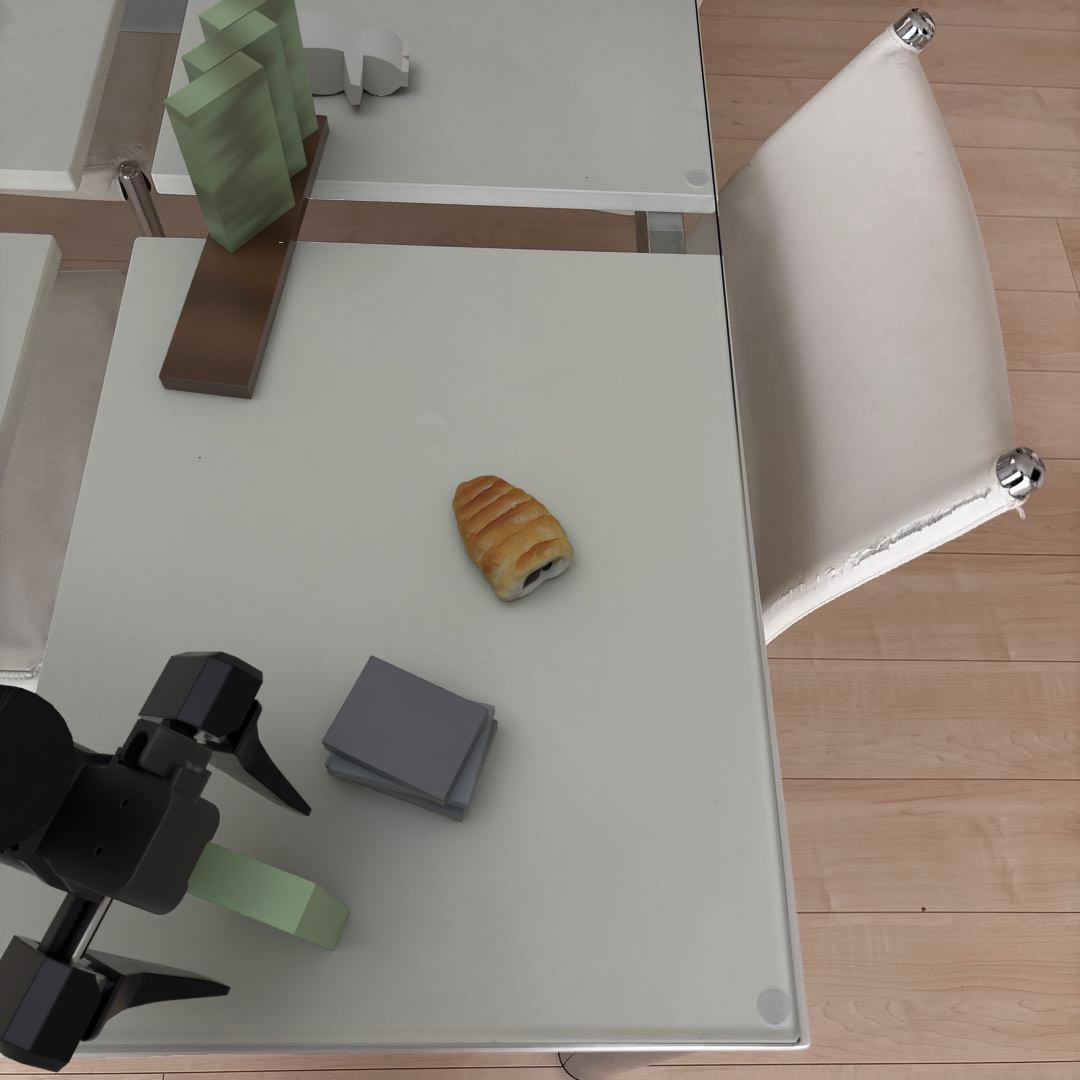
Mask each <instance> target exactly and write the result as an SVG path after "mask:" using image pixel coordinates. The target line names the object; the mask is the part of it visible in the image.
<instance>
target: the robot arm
mask: <svg viewBox="0 0 1080 1080" xmlns="http://www.w3.org/2000/svg"><path fill="white" fill-rule="evenodd" d="M263 674H264V673H263V671H262V670H260V669H259V668H257V667H255V666H253V665H251V664H250V663H248V662H247V661H245V660H243V659H242V658H240V657H238V656H237V655H236V656H235V655H233V654H230V653H227V652H224V651H222V650H221V651H219V650H218V651H216V650H215V651H213V650H212V651H185V652H181V653H176V654H174V655H171V656H170V658H169V659H168V661H167V662H166V663H165V666H164V667H163V670H162V671H161V673H160V675H159V676H158V679H157V680H156V682H155V684H154V685H153V687H152V689H151V691H150V692H149V694H148V696H147V698H146V699H145V702H144V703H143V705H142V707H141V709H140V711H139V712H138V714H137V716H138V717H139V719H137V720H136V722H135V723H134V725H133V727H132V729H131V730H130V732H129V734H128V736H127V738H126V739H125V741H124V743H123V744H122V746H118V747H117V748H116V750H115V752H114V753H104V752H98V751H95V750H93V749H91V748H89V747H87V746H85V745H83V744H80V743H79V742H76V741H74V738H73V734H72V732H71V730H70V728H69V725H68V723H67V721H66V719H65V718H64V717H63V715H62V714H61V713H60V712H59V711H58V710H57V708H56V707H55V706H54V704H52V703H51V702H50V701H48V700H46V699H45V698H44V697H42V696H40V695H39V693H36V692H34V691H31V690H29V689H26V688H24V687H20V686H17V685H10V684H9V685H8V684H3V683H0V864H1V865H4V866H7V867H10V868H12V869H15V870H17V871H20V872H23V873H25V874H28V875H31V876H33V877H36V878H37V879H38V880H39V881H40V882H42V883H43V884H45V885H47V886H49V887H51V888H54V889H56V890H59V891H62V892H65V893H66V895H65V897H64V898H63V900H62V902H61V904H60V905H59V908H58V910H57V911H56V913H55V915H54V917H53V919H52V921H51V922H50V924H49V926H48V927H47V929H46V931H45V933H44V935H43V936H42V939H41V941H40V940H37V939H34V938H30V937H27V936H23V935H17V934H14V935H13V936H12V938H11V940H10V941H9V943H8V945H7V947H6V948H5V950H4V951H3V954H2V955H1V957H0V1054H1V1055H2V1056H3V1057H5V1058H7V1059H10V1060H12V1061H14V1062H17V1063H18V1064H22V1065H25V1066H28V1067H33V1068H37V1069H40V1070H44V1071H49V1072H53V1073H59V1072H60V1071H61V1070H62V1069H64V1068H65V1067H66V1066H67V1065H68V1064H69V1063H70V1062H71V1060H72V1059H73V1056H74V1054H75V1052H76V1050H77V1048H78V1046H79V1044H80V1042H83V1043H87V1042H92V1041H94V1040H96V1039H97V1038H98V1037H99V1036H100V1034H101V1033H102V1031H103V1029H104V1027H105V1026H106V1024H107V1022H109V1020H111V1019H113V1018H114V1017H115V1016H117V1015H118V1014H120V1013H122V1012H124V1011H126V1010H129V1009H132V1008H133V1009H134V1008H138V1007H141V1006H145V1005H150V1004H156V1003H162V1002H171V1001H173V1002H174V1001H181V1000H193V999H194V1000H195V999H206V998H216V997H226V996H229V994H230V991H231V988H232V987H231V986H230V985H228V984H226V983H224V982H223V981H220V980H217V979H214V978H211V977H209V976H206V975H203V974H200V973H199V972H195V971H191V970H186V969H182V968H179V967H178V968H177V967H173V966H169V965H165V964H159V963H154V962H151V961H146V960H142V959H137V958H132V957H129V956H123V955H119V954H115V953H109V952H105V951H100V950H96V949H91V948H89V947H90V945H91V943H92V941H93V939H94V937H95V935H96V933H97V931H98V930H99V928H100V926H101V924H102V923H103V921H104V918H105V916H106V915H107V913H108V910H109V909H110V907H111V905H112V903H113V901H118V902H120V903H123V904H126V905H129V906H132V907H135V908H136V909H139V910H142V911H145V912H148V913H151V914H153V915H157V916H164V915H168V914H169V913H171V912H173V911H174V910H175V909H176V908H177V907H178V906H179V905H180V903H181V902H182V901H183V899H184V897H185V895H186V894H187V892H186V891H187V889H188V880H189V878H190V876H191V874H192V872H193V870H194V868H195V866H196V864H197V862H198V860H199V858H200V856H201V854H202V852H203V850H204V848H205V846H206V844H207V843H208V842H212V840H213V839H214V837H215V835H216V833H217V831H218V828H219V826H220V821H221V814H220V813H221V812H220V810H219V808H218V807H217V805H216V804H215V803H214V802H212V801H209V800H207V799H205V797H204V798H203V797H202V794H203V792H204V790H205V788H206V786H207V784H208V782H209V780H210V778H211V776H212V774H213V772H212V771H210V770H209V769H207V767H208V765H211V766H212V767H214V768H216V769H217V770H219V771H221V772H222V773H224V774H225V775H228V776H229V777H231V778H232V779H234V780H235V781H237V782H239V783H240V784H242V785H244V786H245V787H247V788H248V789H249V790H252V791H253V792H255V793H256V794H258V795H259V796H261V797H263V798H265V799H266V800H268V801H269V802H271V803H273V804H275V805H276V806H279V807H281V808H282V809H286V810H288V811H291V812H293V813H295V814H297V815H300V816H304V817H310V815H311V814H312V811H313V809H312V807H311V806H310V805H309V804H308V802H307V801H306V800H305V799H304V797H303V796H302V795H301V794H300V793H299V791H298V790H297V789H296V788H295V787H294V785H293V784H292V783H291V782H290V781H289V779H288V778H286V777H287V776H285V774H283V772H282V771H281V770H280V769H279V768H278V766H277V765H276V763H275V762H274V761H273V760H272V758H271V757H270V755H269V753H268V751H267V750H266V748H265V747H264V745H263V743H262V742H261V740H260V735H259V727H258V722H259V719H260V717H261V715H262V712H263V705H262V703H261V701H260V700H258V699H257V698H256V697H257V694H258V693H259V691H260V689H261V687H262V686H263V683H264V675H263Z"/></svg>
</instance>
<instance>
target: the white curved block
mask: <svg viewBox="0 0 1080 1080" xmlns="http://www.w3.org/2000/svg"><path fill="white" fill-rule="evenodd" d="M297 17H298V22H299V27H300V33H301V38H302V43H303V49H304V54H305V59H306V65H307V70H308V76H309V81H310V86H311V92H312V95H321V96H324V95H335V94H337V93H339V92H342V91H343V92H344V93H345V95H346V97H347V100H348V102H349V105H350V106H357V105H359V106H360V105H361V101H362V97H363V93H364V91H366V92H367V93H369V94H370V93H371V95H372V94H375V95H374V96H376V95H381V96H382V97H386V96H389V95H391V94H393V93H394V92H395V91H397V90H398V89H399V88H401V87H404V88H409V87H408V86H409V74H410V73H409V71H410V70H409V69H410V67H409V66H410V42H404V41H402V40H401V38H399V36H398V35H396V33H395V32H393V31H392V30H390V29H389V28H387V27H385V26H381V25H372V26H370V27H368V28H366V19H365V15H364V14H361V13H358V12H355V13H353V15H352V16H351V17H350V18H349V19H348V20H347V21H346V22H345V21H342V19H340V18H338V17H336V16H335V15H331V14H328V13H325V12H319V11H312V10H311V11H309V10H308V11H300V12H298V13H297Z"/></svg>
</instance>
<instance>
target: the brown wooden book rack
mask: <svg viewBox="0 0 1080 1080" xmlns="http://www.w3.org/2000/svg"><path fill="white" fill-rule="evenodd" d="M297 15H298V12H297V5H296V1H295V0H220V1H219V2H217V3H215V4H213V5H212V6H211V7H209V8H207V9H206V10H204V11H203V12H201V13H198V15H197V17H198V20H199V23H200V26H201V30H202V33H203V37H204V41H203V42H202V43H200V44H199V45H197V46H196V47H194V48H192V49H191V50H189V51H188V52H186V53H185V54H183V55H181V60H182V63H183V67H184V69H185V73H186V76H187V79H188V82H189V83H188V84H186V85H185V86H183V87H182V88H181V89H179V90H177V91H176V92H174V93H172V94H171V95H170V96H167V98H165V99H164V100H163V105H164V106H165V110H166V112H167V113H166V114H167V115H168V116H167V117H168V119H169V121H170V123H171V127H172V130H173V133H174V135H175V138H176V141H177V144H178V147H179V150H180V153H181V155H182V159H183V161H184V164H185V166H186V167H185V168H186V170H187V174H188V175H189V178H190V181H191V184H192V187H193V188H194V189H193V190H194V192H195V196H196V198H197V201H198V204H199V207H200V209H201V212H202V215H203V218H204V222H205V224H206V227H207V230H208V233H207V236H206V239H205V242H204V245H203V247H202V250H201V253H200V256H199V259H198V262H197V265H196V267H195V269H194V270H195V271H194V274H193V277H192V279H191V282H190V285H189V288H188V291H187V293H186V297H185V300H184V301H183V302H184V303H183V305H182V308H181V310H180V314H179V317H178V319H177V322H176V325H175V328H174V331H173V334H172V337H171V340H170V343H169V345H168V348H167V351H166V353H165V357H164V360H163V362H162V366H161V367H160V371H159V374H158V379H159V381H160V382H161V385H162V387H163V388H164V389H165V390H166V389H167V390H173V391H182V392H192V393H200V394H207V395H215V396H223V397H233V398H239V399H241V398H242V399H249V400H251V399H252V397H253V393H254V390H255V386H256V382H257V380H258V376H259V373H260V369H261V366H262V362H263V358H264V355H265V353H266V349H267V345H268V342H269V339H270V335H271V331H272V328H273V325H274V321H275V318H276V314H277V311H278V307H279V303H280V300H281V297H282V293H283V289H284V286H285V283H286V280H287V276H288V273H289V269H290V266H291V262H292V259H293V256H294V253H295V250H296V249H295V248H296V246H297V242H298V240H299V239H298V238H299V235H300V231H301V228H302V225H303V222H304V219H305V218H304V217H305V214H306V211H307V208H308V204H309V201H310V198H311V194H312V190H313V187H314V185H315V180H316V177H315V176H317V174H316V172H317V173H318V170H317V168H318V169H319V167H320V163H321V160H320V159H322V156H323V153H324V150H323V149H325V146H324V145H326V143H327V138H328V136H329V132H330V126H329V120H328V116H327V115H325V114H316V109H315V103H314V98H313V94H312V92H311V86H310V81H309V76H308V70H307V65H306V59H305V54H304V49H303V43H302V38H301V33H300V27H299V22H298V17H297ZM328 131H329V132H328ZM327 135H328V136H327ZM325 142H326V143H325ZM322 152H323V153H322ZM321 155H322V156H321ZM318 166H319V167H318ZM314 179H315V180H314ZM307 197H310V198H307ZM279 242H283V243H279ZM295 243H296V244H295Z"/></svg>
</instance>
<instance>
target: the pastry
mask: <svg viewBox="0 0 1080 1080" xmlns="http://www.w3.org/2000/svg"><path fill="white" fill-rule="evenodd" d="M451 506H452V511H453V513H454V516H455V520H456V525H457V531H458V534H459V536H460V539H462V542H463V545H464V548H465V554H466V556H467V558H468V560H470V561H471V562H473V563H474V564H475V565H476V566H477V568H478V569H479V570H480V572H481V575H482V576H483V578H484V580H485V581H486V582H487V584H488V585H489V586H490V587H491V589H492V590H493V591H494V594H495V596H496V597H497V598H498V599H500V600H501V601H505V602H510V601H514V600H517V599H520V598H523V597H525V596H527V595H528V594H530V593H532V592H533V591H534V590H535V589H536V588H537V587H539V586H540V585H542V583H543V582H544V581H546V580H548V579H553V578H555V577H558V576H559V575H560V574H562V573H563V572H565V571H566V570H567V569H568V567H569V566H570V564H571V562H572V560H573V556H574V547H573V546H572V544H571V543H570V542H569V538H568V534H567V533H566V531H565V529H564V527H563V526H562V524H561V523H560V521H559V520H558V519H557V517H555V516H554V515H553V514H552V513H551V512H550V511H549V509H547V507H546V506H545V505H544V504H543V503H541V502H539V501H538V500H537V498H535V497H534V496H533V495H531V494H529V493H527V492H526V491H525V490H523V489H522V488H519V487H516V486H514V485H513V484H511V483H509V482H508V481H507V480H505V479H503V478H502V477H498V476H496V475H495V474H494V475H493V474H491V475H488V474H487V475H480V476H478V477H475V478H473V479H470V480H468V481H467V480H465V481H462V482H461V483H458V485H457V487H456V489H455V493H454V495H453V499H452V503H451Z"/></svg>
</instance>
